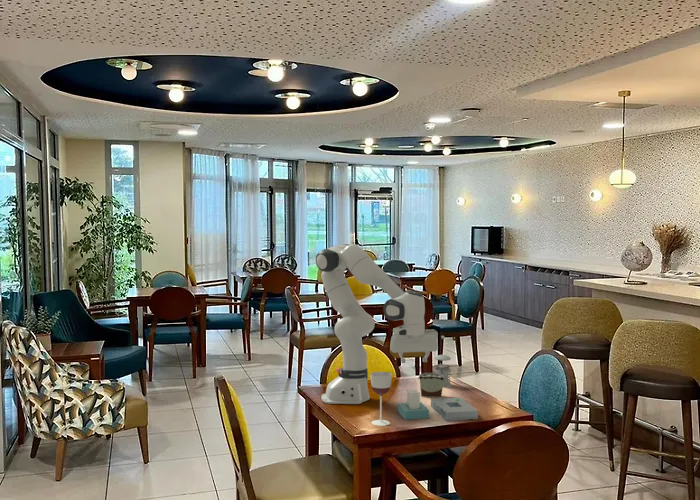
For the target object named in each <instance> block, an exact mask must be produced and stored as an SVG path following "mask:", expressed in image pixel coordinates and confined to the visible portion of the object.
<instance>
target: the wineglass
mask: <svg viewBox="0 0 700 500" xmlns="http://www.w3.org/2000/svg"><path fill="white" fill-rule="evenodd" d="M392 379H393V373H391V372H387V371H375V372H371V373H370V383H371V388H372V391H373V392H374V393H375V394H377V395H379V419H375V420H372V421H371V424H372V425H374V426H378V427H381V426H383V427H385V426H388V425H390V424H391V422H390V421H389V420H385V419H383V415H382V414H383V405H382V404H383V396H384V395H386V394H388V393H389V391H390V389H391V387H392V386H391V385H392Z"/></svg>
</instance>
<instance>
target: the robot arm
mask: <svg viewBox="0 0 700 500" xmlns="http://www.w3.org/2000/svg"><path fill="white" fill-rule="evenodd" d="M315 256H316V257H315V264H316V267H317V269H318V270H320V271H321V275H320V276H321V277H320V278H321V280H322V284H323V287H324V290H325V292H326V295H327V297H328V299H329V301H330V304H331V306H332V308H333V309H334V310H335V311H336V312H338V313H339V314H340V315H341V317H342V318H340V319H339V320H338V321H336V322H335V325H334V331H333V332H334V333H335V334H334V335H335V336H336V337H337V338H338V340H339V341H340V345H341V349H342V350H341V351H342V367H341V368H340V367H336V372H337V373H338V374H337V377H335V378H334V379H333V380H331V381H330V382H329V383H328V384H327V386H326V390H325V393H322V394H321V397H320V400H321V401H322V402H323V403H325V404H330V405H331V404H332V405H334V404H335V405H336V404H337V405H339V404H341V405H342V404H343V405H360V404H362V403H363V402H367V401H369V400H370V398H371V397H370V393H369V388H368V378H369V376H368V375H369V373H368V372H369V370H368V364H367V361H368V358H367V357H368V356H367V355H368V354H367V353H368V351H367V349H365V347H364V345H363V340H362V338H363V337H366V336H368V335H369V334H370V333H372V332H373V330H374V329H375V324H376V323H375V319H374V317H373V316H372V315H371V314H369V313H368V312H366V311H365V309H364V308H363V306H361V305H360V303H359V302H358V300H357V299H356V297H355V295H354V293H353V291H352V289H351V287H350V285H349V283H348V280H347V278H346V276H345V271H349V272H350V273H351V274H352V275H353V277H354V278H355V279H356V280H357V281H358V282H360V283H361V284H362V285H363V284H364V285H369V286H375V287H376V288H377V287H378V289H381V290H383V291H384V292H385V293H386V294H387V295H388V296H389V297H390V299H387V300H386V301H385V303H384V305H383V313H384V315H385V318H386V319H388V320H390V321H395V322H396V321H400V320H401V321H403V324H402V325H399V326H397V327H394V328H392V333H393V334H392V336H391V338H390V347H389V348H390V351H391V353H393V354H396V353H397V354H398V356H399V358H400V363H401V364H406V358H405V357H403V355H404V353H425V355H424V356H422V361H421V362H423V363H428V358H429V356H430V355H431V352H437V351H438V350H439V346H438V345H439V344H438V335H439V334H438V333H439V332H438V331H437V330H436V329H433V328H432V329H425V328H426V327H425V326H426V325H425V324H426V323H425V313H426V306H425V303H426V302H425V298H424V297H425V296H424V294H423V293H421V292H420V291H419V292H418V291H415V290H414V291H413V290H407V291H405V290H404V289H403V288H402V287H401V286H400V285H399V284H398V283H397V282H396V281H395V280H394V279H393V278H392V277H391V276H390V275H389V274H388V273H387V272H385V271H384V270H383V269H382V268H381V267H380V266H379V265H378V264H377V263H376V262H375V261H374V260H373V258H372V257H371V256H370V255H369V254H368V253H367V252H366V251H365V250H364V249H363V248H362V247H360V246H359V245H358V244H356V243H351V244H348V243H344V244H340V245H339V244H338V245H334V246H330V247H328V248H324V249H322V250H319V252H317V254H316V255H315Z"/></svg>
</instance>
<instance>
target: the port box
mask: <svg viewBox="0 0 700 500" xmlns="http://www.w3.org/2000/svg"><path fill="white" fill-rule="evenodd" d="M430 407H431V409H432V410H433V411H435V413H437V414H438V415H439V416H440V417H441V418H442V419H443V420H444V421H446V422H451V421H452V422H453V421H469V420H468V419H473V420H478V419H479V411H478V409H476V408H475V407H474V406H472V405H471V404H470V403H468V402H467V401H466V400H465V399H464V398H462V397H446V398H442V397H440V398H430Z"/></svg>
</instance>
